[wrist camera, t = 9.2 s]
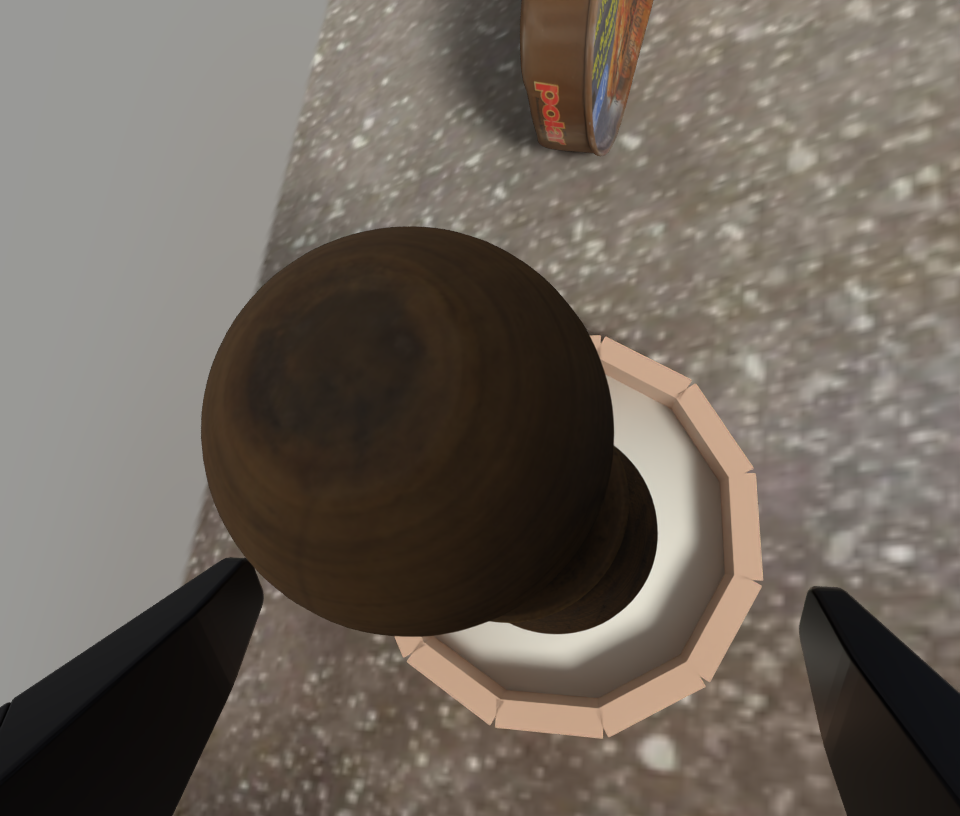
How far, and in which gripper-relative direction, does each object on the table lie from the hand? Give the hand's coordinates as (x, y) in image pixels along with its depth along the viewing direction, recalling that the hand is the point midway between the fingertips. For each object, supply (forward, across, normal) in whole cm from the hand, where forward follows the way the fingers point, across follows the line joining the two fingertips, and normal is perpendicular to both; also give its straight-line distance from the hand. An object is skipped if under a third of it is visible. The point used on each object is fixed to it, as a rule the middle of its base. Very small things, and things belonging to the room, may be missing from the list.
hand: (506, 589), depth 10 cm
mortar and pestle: (+9, 0, +7) cm, 11 cm away
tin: (+24, -2, -8) cm, 26 cm away
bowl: (+10, 0, +7) cm, 12 cm away
